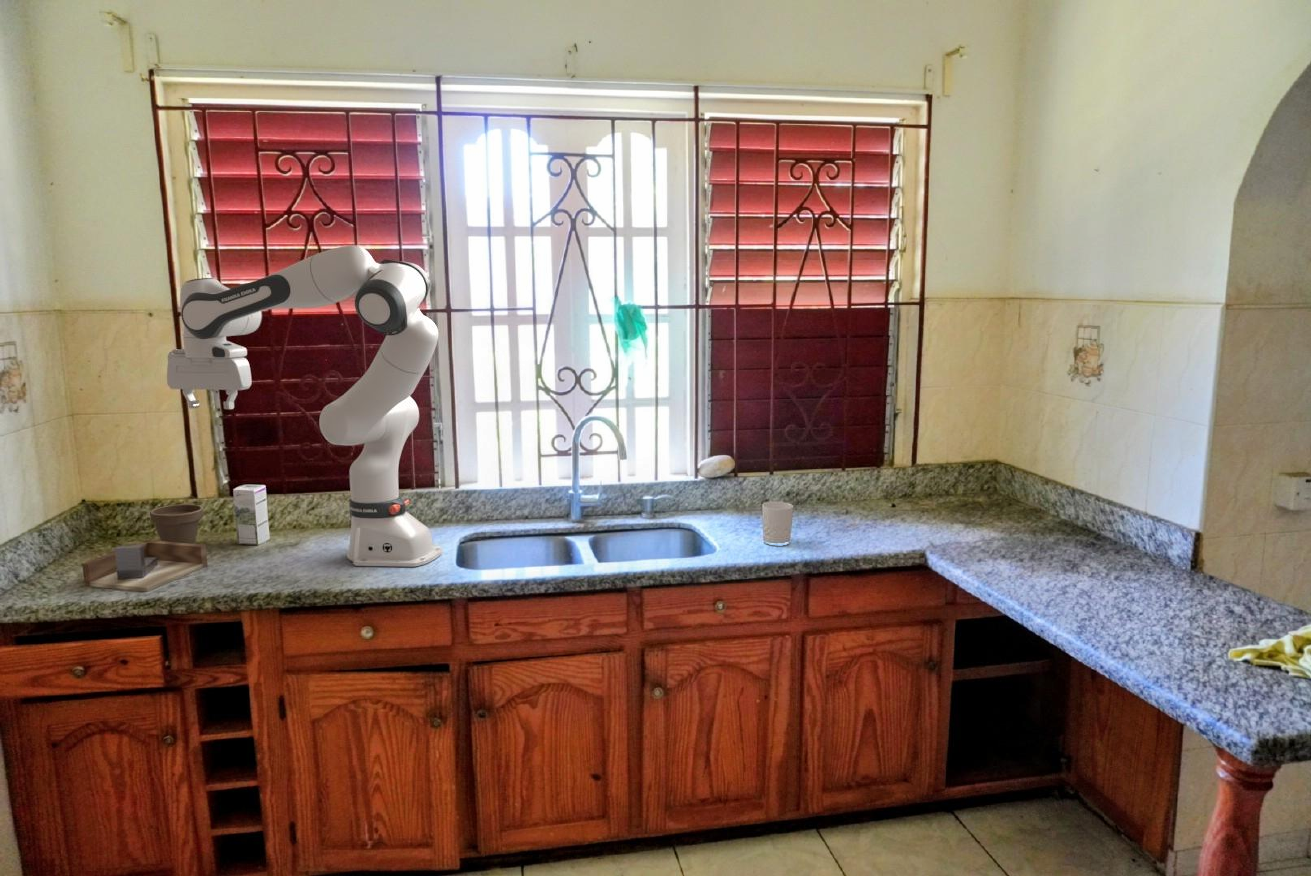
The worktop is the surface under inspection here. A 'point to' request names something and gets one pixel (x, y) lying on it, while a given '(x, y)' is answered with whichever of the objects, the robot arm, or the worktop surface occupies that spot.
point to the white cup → (777, 521)
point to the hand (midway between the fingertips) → (211, 408)
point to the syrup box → (251, 514)
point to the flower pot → (177, 522)
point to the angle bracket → (133, 562)
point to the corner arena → (170, 567)
